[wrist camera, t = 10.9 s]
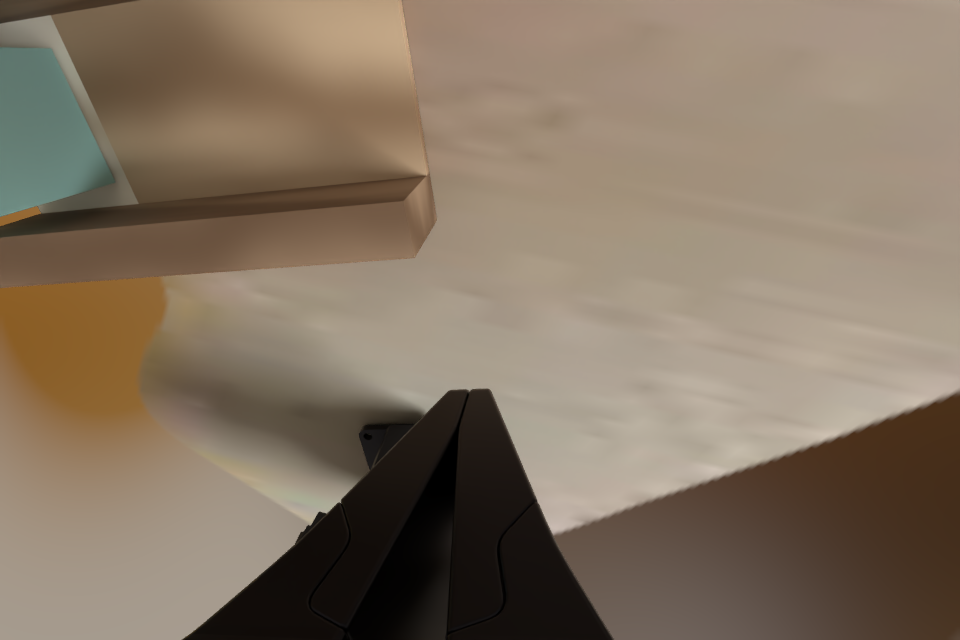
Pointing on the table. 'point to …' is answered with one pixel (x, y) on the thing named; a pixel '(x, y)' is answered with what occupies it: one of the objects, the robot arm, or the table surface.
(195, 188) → the chute
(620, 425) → the table surface
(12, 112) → the teal block
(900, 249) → the table surface
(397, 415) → the table surface
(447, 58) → the table surface
